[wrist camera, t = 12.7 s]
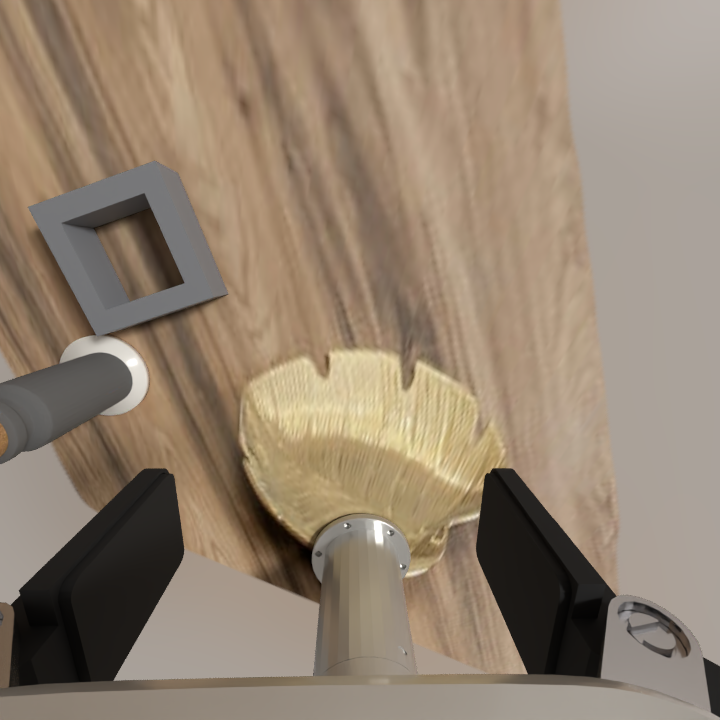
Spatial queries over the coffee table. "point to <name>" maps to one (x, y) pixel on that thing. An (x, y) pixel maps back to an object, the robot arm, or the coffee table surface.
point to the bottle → (58, 400)
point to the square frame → (91, 264)
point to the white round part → (123, 353)
